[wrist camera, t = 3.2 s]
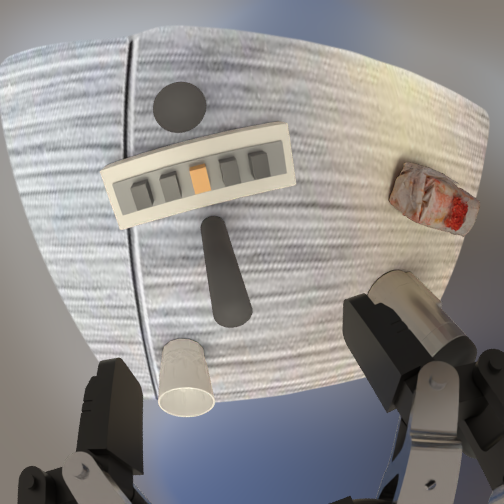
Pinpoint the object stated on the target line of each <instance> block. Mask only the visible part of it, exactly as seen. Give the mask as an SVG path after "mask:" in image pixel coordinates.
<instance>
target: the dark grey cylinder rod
mask: <svg viewBox="0 0 504 504" xmlns="http://www.w3.org/2000/svg"><path fill="white" fill-rule="evenodd" d="M201 234H202V242H203V249H204V256H205V264H206V271H207V277H208V284H209V291H210V297H211V304H212V310H213V316H214V319H215V321H216V322H217V323H218V324H219V325H221V326H224V327H228V328H233V327H238V326H241V325H243V324H244V323H246V322H247V321H248V320H249V319H250V317H251V315H252V306H251V303H250V300H249V297H248V294H247V291H246V288H245V285H244V282H243V279H242V276H241V273H240V269H239V266H238V263H237V260H236V257H235V254H234V251H233V248H232V245H231V241H230V238H229V235H228V232H227V229H226V226H225V223H224V221H223V220H222V219H221V218H219V217H217V216H211V217H208V218H206V219H205V220H204V221H203V222H202V224H201Z"/></svg>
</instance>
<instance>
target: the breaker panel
mask: <svg viewBox="0 0 504 504" xmlns="http://www.w3.org/2000/svg"><path fill="white" fill-rule="evenodd" d="M100 173H101V176H102V179H103V182H104V185H105V188H106V191H107V194H108V197H109V200H110V203H111V206H112V208H113V211H114V214H115V217H116V219H117V222H118V225H119V227H120V230H123V229H126V228H130V227H133V226H136V225H140V224H143V223H147V222H150V221H154V220H157V219H161V218H164V217H168V216H172V215H175V214H179V213H182V212H186V211H190V210H194V209H197V208H201V207H205V206H209V205H213V204H217V203H221V202H225V201H229V200H233V199H237V198H241V197H245V196H250V195H254V194H258V193H262V192H267V191H271V190H276V189H280V188H285V187H289V186H294V185H296V180H295V173H294V165H293V158H292V151H291V144H290V137H289V130H288V124H287V123H284V122H280V121H277V122H271V123H266V124H260V125H255V126H249V127H244V128H239V129H235V130H230V131H225V132H221V133H216V134H212V135H208V136H204V137H199V138H195V139H191V140H188V141H184V142H180V143H176V144H173V145H169V146H165V147H162V148H158V149H155V150H152V151H148V152H145V153H142V154H139V155H135V156H132V157H129V158H126V159H123V160H120V161H117V162H114V163H111V164H109V165H106V166H105V167H104V168H103V169H102V170H101V171H100Z"/></svg>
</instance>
